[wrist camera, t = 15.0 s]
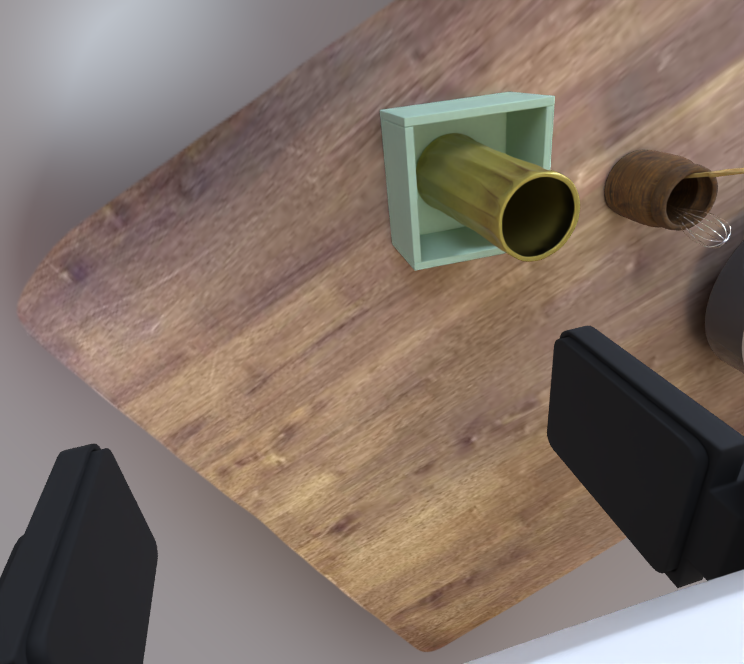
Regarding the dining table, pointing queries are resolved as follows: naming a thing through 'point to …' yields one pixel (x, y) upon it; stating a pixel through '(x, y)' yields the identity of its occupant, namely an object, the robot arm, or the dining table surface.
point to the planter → (728, 312)
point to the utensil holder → (664, 190)
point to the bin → (486, 126)
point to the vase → (499, 196)
